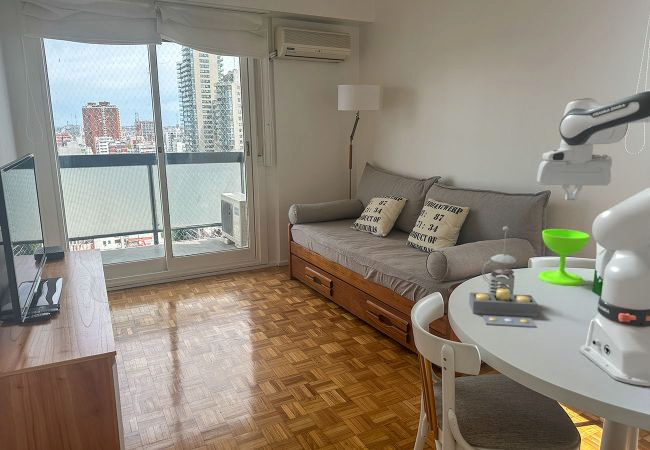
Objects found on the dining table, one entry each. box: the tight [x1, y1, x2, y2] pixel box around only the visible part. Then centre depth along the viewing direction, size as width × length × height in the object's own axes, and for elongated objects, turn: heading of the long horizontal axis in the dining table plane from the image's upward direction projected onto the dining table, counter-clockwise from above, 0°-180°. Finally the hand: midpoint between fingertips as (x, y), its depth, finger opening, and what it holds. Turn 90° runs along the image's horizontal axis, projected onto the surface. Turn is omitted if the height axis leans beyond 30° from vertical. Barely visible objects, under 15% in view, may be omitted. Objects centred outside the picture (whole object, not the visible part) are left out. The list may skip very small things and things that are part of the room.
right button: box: [516, 296, 530, 302], centre depth 143 cm, size 4×4×3 cm
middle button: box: [496, 289, 510, 301], centre depth 143 cm, size 4×4×3 cm
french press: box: [481, 226, 517, 295], centre depth 153 cm, size 10×12×25 cm
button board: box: [468, 292, 539, 328], centre depth 140 cm, size 16×19×4 cm
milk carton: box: [591, 242, 615, 297], centre depth 155 cm, size 9×9×20 cm
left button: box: [476, 294, 489, 300], centre depth 145 cm, size 4×4×3 cm
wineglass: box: [537, 228, 590, 287], centre depth 173 cm, size 16×16×18 cm
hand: (570, 199), depth 140 cm, fingers closed
